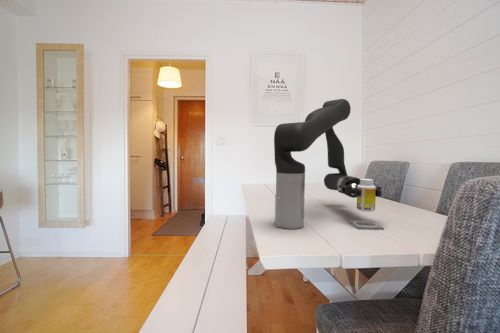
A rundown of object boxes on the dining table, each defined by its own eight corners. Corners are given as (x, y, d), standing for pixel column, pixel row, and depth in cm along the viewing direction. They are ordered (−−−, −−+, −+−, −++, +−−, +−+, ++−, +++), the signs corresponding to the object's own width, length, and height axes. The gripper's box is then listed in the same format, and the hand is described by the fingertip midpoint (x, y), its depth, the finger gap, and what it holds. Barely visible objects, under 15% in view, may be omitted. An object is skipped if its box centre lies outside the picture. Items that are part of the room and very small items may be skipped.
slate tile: (357, 229, 79) (357, 226, 79) (348, 222, 87) (348, 220, 87) (383, 229, 79) (383, 227, 79) (371, 222, 87) (371, 220, 87)
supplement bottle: (378, 210, 82) (379, 179, 82) (370, 213, 79) (371, 180, 78) (361, 207, 87) (362, 178, 86) (353, 209, 83) (354, 179, 83)
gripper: (331, 176, 97) (347, 181, 80) (369, 176, 96) (393, 181, 80) (331, 195, 97) (346, 204, 80) (368, 195, 97) (392, 205, 80)
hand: (369, 193), depth 80 cm, fingers closed on supplement bottle, 5 cm apart
